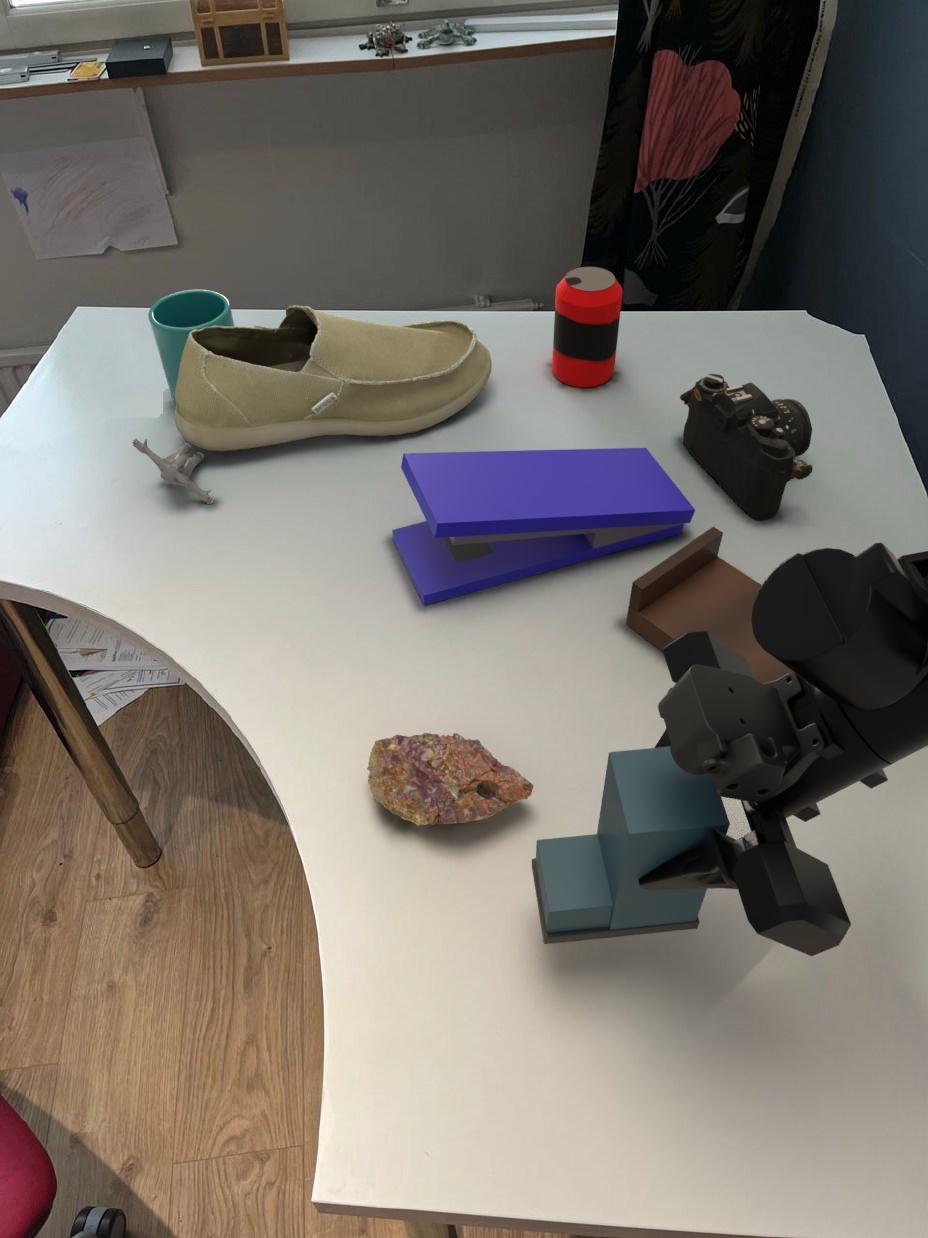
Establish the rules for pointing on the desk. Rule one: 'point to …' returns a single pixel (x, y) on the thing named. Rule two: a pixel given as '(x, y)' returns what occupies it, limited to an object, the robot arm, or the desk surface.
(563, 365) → the soda can
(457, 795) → the mineral specimen
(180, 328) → the cup
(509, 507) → the stapler
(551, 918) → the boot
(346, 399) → the loafer
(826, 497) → the desk surface
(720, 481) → the film camera
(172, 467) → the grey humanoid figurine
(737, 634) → the brown lipped tray
